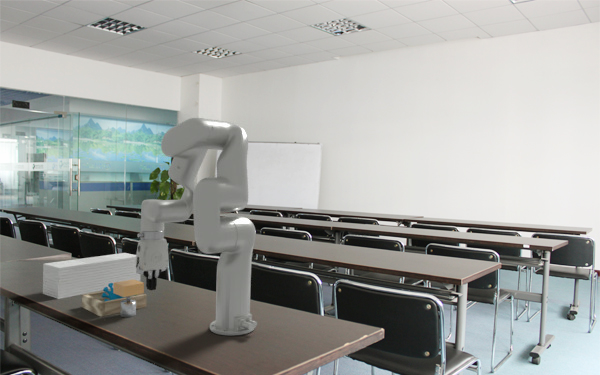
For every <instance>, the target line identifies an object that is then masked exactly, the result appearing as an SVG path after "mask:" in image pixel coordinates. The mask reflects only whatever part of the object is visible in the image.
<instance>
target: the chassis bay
mask: <svg viewBox="0 0 600 375" xmlns="http://www.w3.org/2000/svg"><path fill="white" fill-rule="evenodd" d="M108 290H109V291H111V289H108ZM103 293H106V294H107V295H109V294H108V293H107V292H104V291H103V290H101V291H96V292H91V293H86V294H81V308H83V309H84V310H87V311H89V312H91V313H92V314H95V315H96V316H98V317H100V318H101V317H106V316H110V315H115V314H120V311H121V301H124V300H126V298H121V299H115V300H110V299H109V298H102V294H103ZM105 299H108V300H110V301H104V300H105ZM147 299H148V296H147V294H146V293H144V294H138V295H137V296H131V300H135V301H136V310H139V309H145V308H147V303H148V302H147Z"/></svg>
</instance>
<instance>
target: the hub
mask: <svg viewBox="0 0 600 375" xmlns="http://www.w3.org/2000/svg"><path fill="white" fill-rule="evenodd" d="M113 293H115V294H117V295H119V296H122V297H127V296H133V295H142V294H145V282H142V281H141V280H140V281H137V280H134V279H133V280H126V281H120V282H114V288H113Z"/></svg>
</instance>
